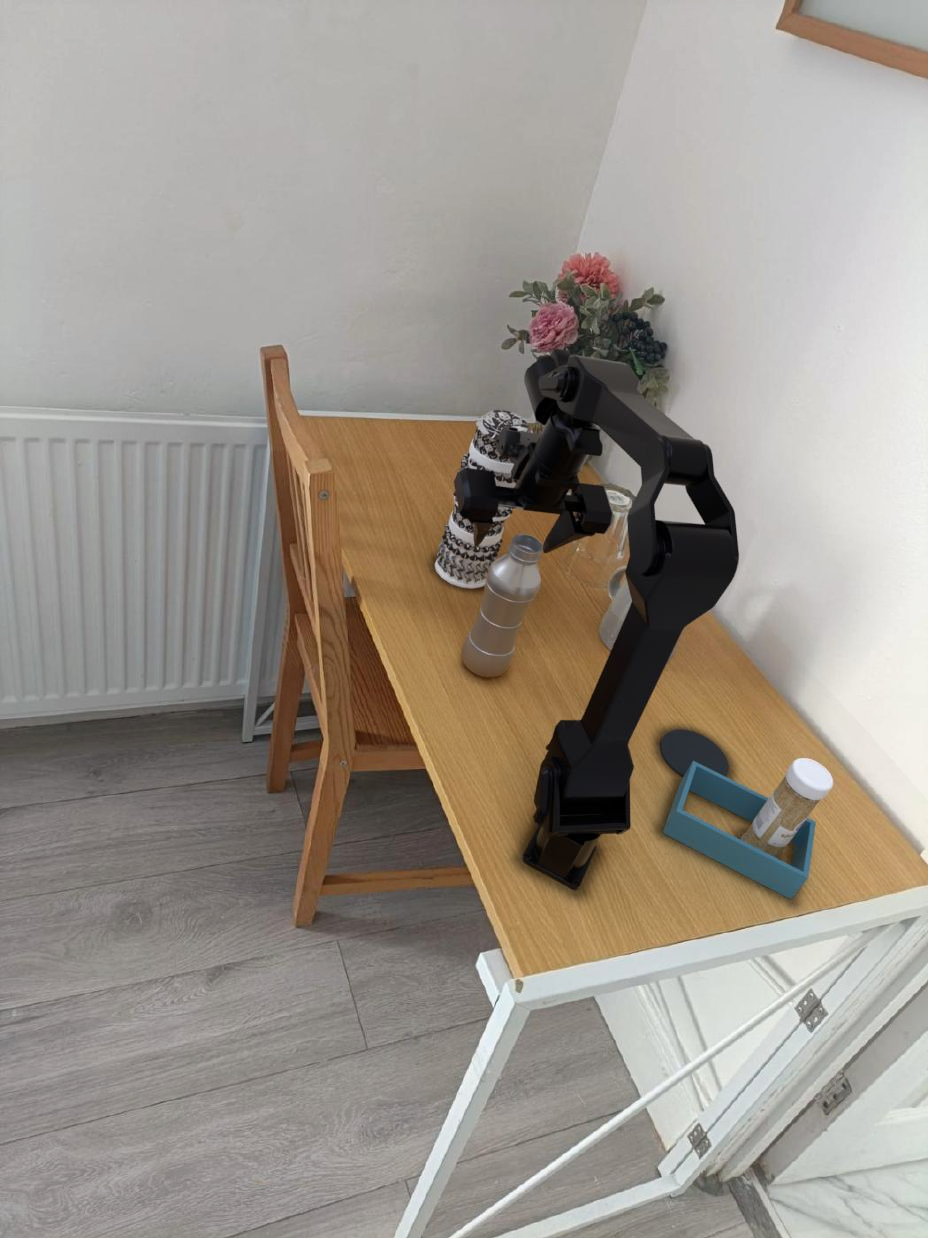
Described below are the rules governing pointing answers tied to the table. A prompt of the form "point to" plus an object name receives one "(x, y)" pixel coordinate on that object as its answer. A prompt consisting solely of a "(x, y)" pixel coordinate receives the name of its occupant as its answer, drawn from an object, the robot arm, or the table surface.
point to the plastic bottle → (503, 607)
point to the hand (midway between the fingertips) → (510, 546)
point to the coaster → (692, 752)
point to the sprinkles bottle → (789, 806)
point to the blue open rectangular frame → (730, 847)
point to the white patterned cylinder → (457, 548)
